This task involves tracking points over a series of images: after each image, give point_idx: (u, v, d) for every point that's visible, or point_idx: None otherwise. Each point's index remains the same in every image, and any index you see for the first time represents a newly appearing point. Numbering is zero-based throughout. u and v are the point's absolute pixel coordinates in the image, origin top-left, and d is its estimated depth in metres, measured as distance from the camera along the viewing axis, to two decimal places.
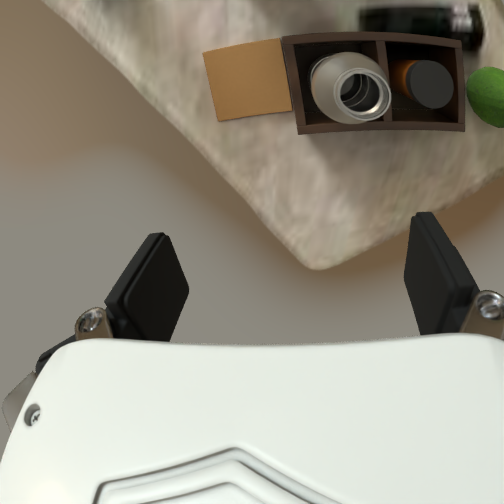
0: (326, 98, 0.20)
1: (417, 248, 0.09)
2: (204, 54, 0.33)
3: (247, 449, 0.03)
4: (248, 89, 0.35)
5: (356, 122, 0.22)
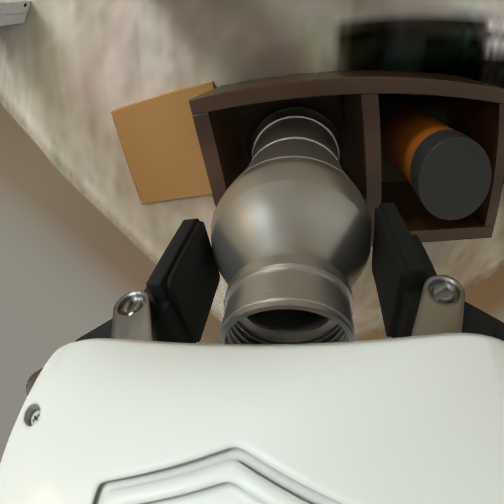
0: (228, 285, 0.11)
1: (379, 237, 0.10)
2: (113, 114, 0.24)
3: (247, 449, 0.03)
4: (173, 162, 0.26)
5: None
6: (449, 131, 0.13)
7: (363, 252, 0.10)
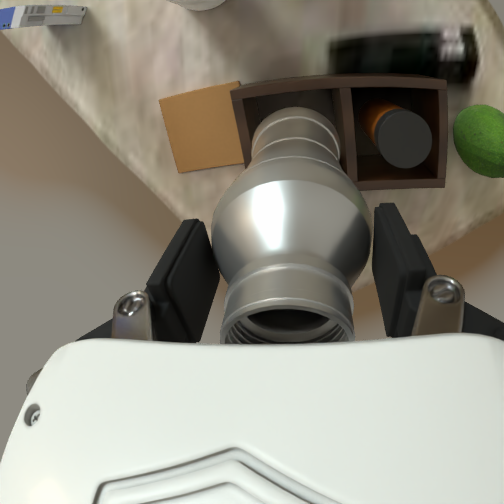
0: (229, 284, 0.11)
1: (379, 237, 0.10)
2: (160, 101, 0.32)
3: (247, 449, 0.03)
4: (207, 139, 0.34)
5: None
6: (399, 109, 0.22)
7: (363, 252, 0.10)
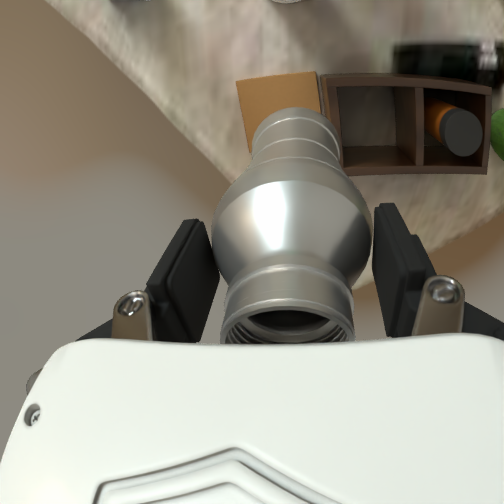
0: (229, 285, 0.11)
1: (379, 237, 0.10)
2: (237, 83, 0.34)
3: (247, 449, 0.03)
4: None
5: None
6: (458, 108, 0.24)
7: (363, 252, 0.10)
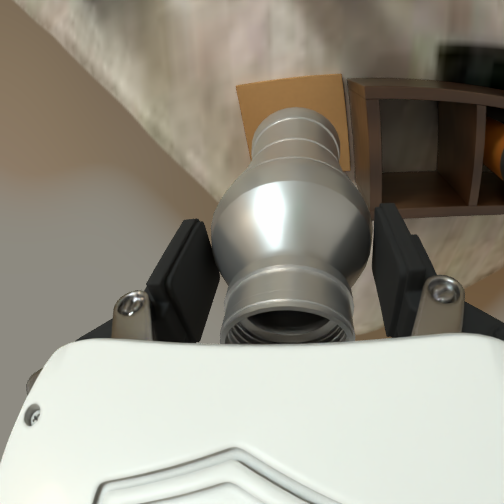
0: (229, 285, 0.11)
1: (379, 237, 0.10)
2: (238, 88, 0.26)
3: (247, 449, 0.03)
4: None
5: None
6: None
7: (363, 253, 0.10)
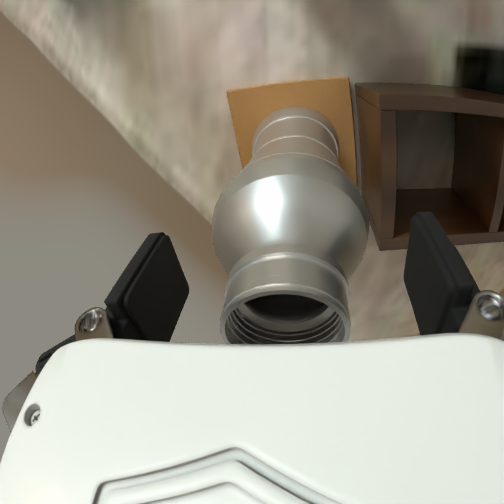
0: (229, 276, 0.12)
1: (417, 248, 0.09)
2: (229, 94, 0.23)
3: (247, 449, 0.03)
4: None
5: None
6: None
7: (359, 244, 0.10)
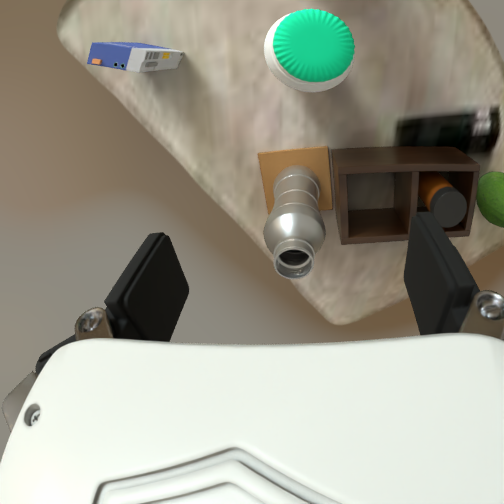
0: (272, 250, 0.31)
1: (417, 248, 0.09)
2: (259, 155, 0.42)
3: (247, 449, 0.03)
4: None
5: None
6: (448, 187, 0.32)
7: (320, 237, 0.30)
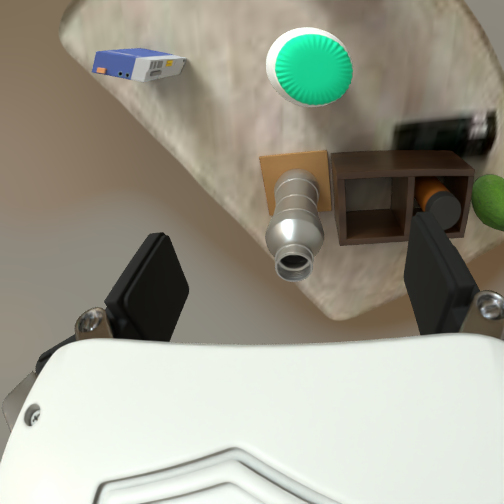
0: (273, 253, 0.33)
1: (417, 248, 0.09)
2: (260, 159, 0.44)
3: (247, 449, 0.03)
4: None
5: (296, 263, 0.34)
6: (443, 192, 0.33)
7: (318, 242, 0.32)
